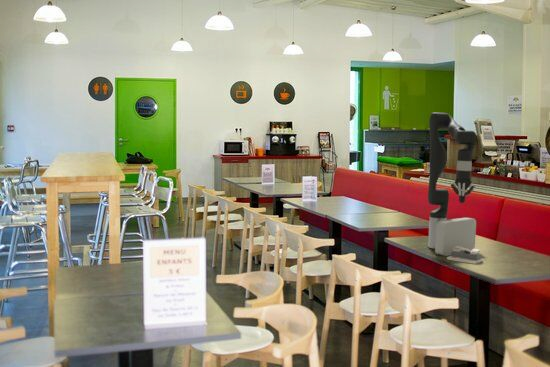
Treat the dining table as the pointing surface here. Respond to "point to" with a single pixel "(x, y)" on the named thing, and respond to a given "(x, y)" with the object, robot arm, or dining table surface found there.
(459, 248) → the rocker
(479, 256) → the switch unit
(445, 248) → the rounded white slab
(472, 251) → the rocker
